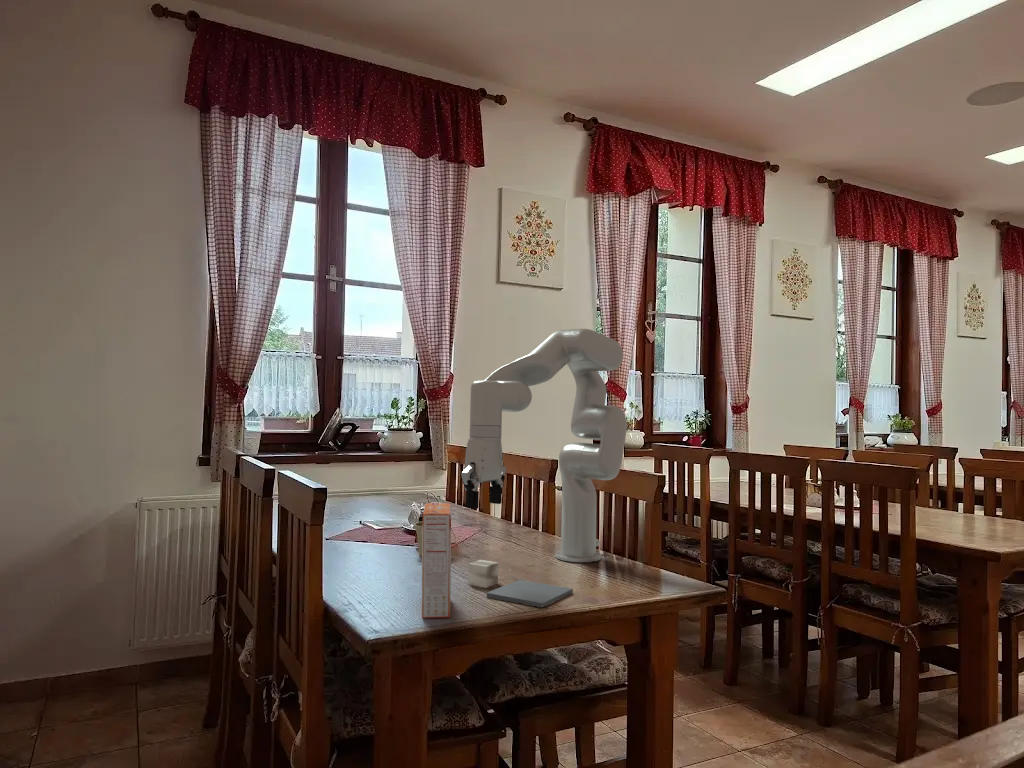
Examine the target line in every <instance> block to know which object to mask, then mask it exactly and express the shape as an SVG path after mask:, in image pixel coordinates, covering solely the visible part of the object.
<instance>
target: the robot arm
mask: <svg viewBox="0 0 1024 768" xmlns="http://www.w3.org/2000/svg"><path fill="white" fill-rule="evenodd" d="M623 360H624V353H623V349H622V347H621V345H620V343H619V342H618V341H616V340H615V339H613V338H611V337H609V336H606V335H604V334H602V333H600V332H598V331H595V330H592V329H588V328H573V329H572V328H571V329H560V330H557V331H554V332H553V333H551V335H549V336H548V337H547V338H546V339H544V340H543V341H542V342H541V343H540V344H539V345H538V346H537V347H535V349H533V350H531V352H530V353H529V354H527V355H525V356H522V357H520V358H517V359H516V360H514V361H511V362H509V363H507V364H505V365H503V366H501V367H499V368H497V369H496V370H495V371H492V373H490V375H489V376H487V377H486V378H485V379H484V380H475V381H473V382H472V383H471V384H470V385H471V386H470V397H469V398H470V403H469V404H470V406H469V408H470V409H469V411H470V412H469V439H468V440H467V443H466V444H467V445H466V450H465V455H464V456H465V457H464V469H463V471H462V472H461V473H460V475H461V478H462V485H463V486H464V490H465V508H467V509H474V510H476V509H479V507H480V506H479V505H480V504H479V498H480V497H479V496H480V493H479V492H480V491H479V490H478V489H479V486H480V484H481V483H485V482H489V483H490V485H489V492H488V493H489V494H488V495H489V496H488V497H489V498H488V500H489V503H490V504H496V505H501V504H502V495H503V493H502V491H503V490H502V489H503V487H504V480H505V479H506V477H505V476H506V472H507V467H506V466H505V465H503V463H504V462H503V459H504V458H503V444H502V434H503V433H502V430H503V429H502V425H503V424H502V423H503V422H502V421H503V420H502V419H503V416H502V415H503V412H508V413H519V412H522V411H525V410H526V409H527V408H528V407H529V406H530V404H531V403H532V399H533V393H532V391H531V388H530V387H532V386H537V385H541V384H543V383H545V382H549V381H550V380H552V379H553V377H554V376H555V375H557V374H558V372H560V371H561V370H562V369H563V368H564V367H565V366H566V365H567V367H568V368H569V369H570V372H571V373H572V376H573V378H574V381H575V384H576V390H575V397H574V403H573V409H572V415H571V420H570V422H571V423H570V430H571V434H573V436H575V437H577V438H579V439H583V440H595V441H596V440H598V441H600V443H589V442H572V443H568V444H565V445H564V446H563V447H562V448H561V449H560V452H559V455H558V465H559V466H558V467H559V471H560V477H561V528H560V530H561V532H560V535H561V537H560V538H561V541H560V542H561V543H560V550H557V551H556V552H555V554H554V555H555V558H556V559H558V560H561V561H563V562H564V561H565V562H569V563H593V561H594V562H598V561H600V560H601V559H602V554H601V552H599V551H596V550H597V547H598V546H600V545H601V542H600V541H601V540H599V539H598V538H597V495H598V494H597V491H596V487H595V485H594V483H593V481H592V480H601V481H610V480H611V481H612V480H613V479H615V478H616V477H617V476H618V475H619V473H620V470H621V467H622V462H623V461H622V460H623V456H624V448H625V443H626V438H627V429H628V422H627V417H626V414H625V412H624V411H623V409H621V408H620V407H618V406H617V405H616V406H615V405H608V404H607V405H606V400H607V387H606V384H605V381H604V379H603V378H602V377H601V375H600V372H612V371H615V370H618V369H619V368H620V367H621V365H622V363H623Z"/></svg>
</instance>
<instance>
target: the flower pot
mask: <svg viewBox="0 0 1024 768" xmlns="http://www.w3.org/2000/svg"><path fill="white" fill-rule="evenodd" d="M413 526H414V528H415V531H416V537H417V545H418V552H419V553H418V554H419V556H420V557H422V521H418V522H415V523H413Z"/></svg>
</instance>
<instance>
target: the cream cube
mask: <svg viewBox="0 0 1024 768" xmlns="http://www.w3.org/2000/svg"><path fill="white" fill-rule="evenodd" d="M467 571H468V577H467V578H468V581H467V583H468V586H472V585H473V586H474V587H478V586H479V588H483V587H484V588H485V589H487V588H490V587H492V586H496V585H497V583H498V584H499V562H498V561H497V562H496V561H491V560H484V559H479V560H475V561H473V562H469V563H468V570H467ZM489 586H490V587H489Z"/></svg>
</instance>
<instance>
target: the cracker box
mask: <svg viewBox="0 0 1024 768" xmlns="http://www.w3.org/2000/svg"><path fill="white" fill-rule="evenodd" d="M423 508H424V509H423V512H422V521H421V522H422V556H421V617H422V619H447V618H449V619H450V618H451V599H452V598H451V594H452V593H451V590H452V589H451V584H452V581H451V579H452V576H451V575H452V567H451V566H452V510H451V508H452V507H451V503H448V502H447V503H446V502H445V503H443V502H441V503H440V502H427V503H424V507H423Z"/></svg>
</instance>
